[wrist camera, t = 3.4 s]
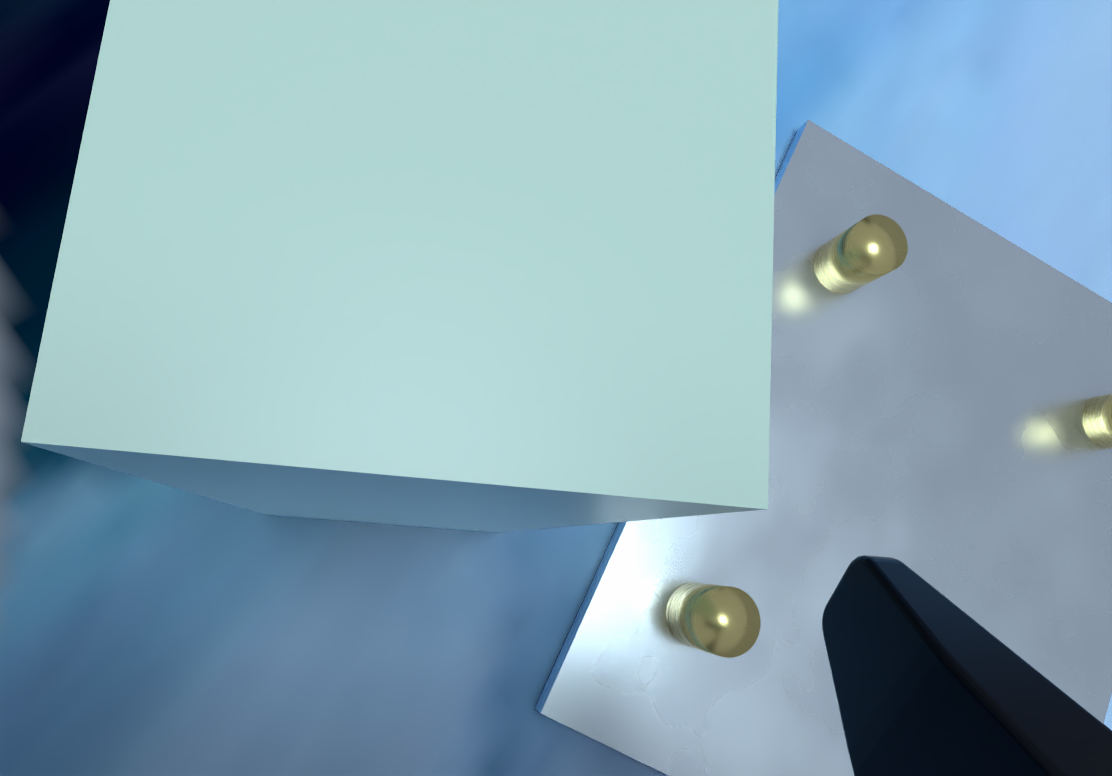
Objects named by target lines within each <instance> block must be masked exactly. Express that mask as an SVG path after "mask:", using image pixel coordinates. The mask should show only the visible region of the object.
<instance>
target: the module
mask: <svg viewBox="0 0 1112 776" xmlns="http://www.w3.org/2000/svg"><path fill="white" fill-rule="evenodd" d="M777 43H778V0H110V4H109V9H108V14H107V19H106V24H105V29H104V34H103V38H102V43H101V48H100V53H99V58H98V63H97V68H96V73H95V78H94V83H93V88H92V93H91V98H90V103H89V108H88V113H87V118H86V123H85V127H84V132H83V137H82V142H81V147H80V152H79V157H78V162H77V167H76V172H75V177H74V182H73V187H72V192H71V197H70V202H69V207H68V212H67V216H66V221H65V226H64V231H63V236H62V241H61V246H60V251H59V256H58V261H57V266H56V271H55V276H54V281H53V286H52V291H51V296H50V300H49V305H48V310H47V315H46V320H45V325H44V330H43V335H42V340H41V345H40V350H39V355H38V360H37V365H36V370H35V375H34V380H33V385H32V389H31V394H30V399H29V404H28V409H27V414H26V419H25V424H24V429H23V434H22V439H21V442H23V443H27V444H30V445H33V446H37V447H40V448H43V449H47V450H50V451H53V452H57V453H60V454H63V455H67V456H70V457H73V458H77V459H80V460H84V461H87V462H90V463H94V464H97V465H100V466H104V467H107V468H110V469H114V470H117V471H120V472H124V473H127V474H130V475H134V476H137V477H140V478H144V479H147V480H150V481H154V482H157V483H160V484H164V485H167V486H170V487H174V488H177V489H180V490H184V491H187V492H190V493H194V494H197V495H200V496H204V497H207V498H210V499H214V500H217V501H220V502H224V503H227V504H230V505H234V506H237V507H240V508H244V509H247V510H250V511H254V512H257V513H260V514H264V515H277V516H290V517H302V518H315V519H328V520H340V521H353V522H366V523H378V524H391V525H404V526H417V527H429V528H442V529H455V530H467V531H480V532H493V533H501V532H513V531H524V530H536V529H547V528H559V527H571V526H582V525H594V524H605V523H617V522H628V521H640V520H651V519H663V518H674V517H686V516H697V515H709V514H721V513H732V512H744V511H755V510H767V509H768V477H769V429H770V381H771V333H772V284H773V236H774V188H775V140H776V91H777Z"/></svg>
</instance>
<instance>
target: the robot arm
mask: <svg viewBox="0 0 1112 776" xmlns="http://www.w3.org/2000/svg"><path fill="white" fill-rule="evenodd" d="M822 631H823V636H824V641H825V646H826V650H827V655H828V660H829V664H830V669H831V674H832V678H833V683H834V688H835V692H836V697H837V701H838V706H839V711H840V715H841V720H842V725H843V729H844V734H845V739H846V743H847V748H848V752H849V756H850V760H851V764H852V768H853V772H854V776H1112V730H1110V729H1109V728H1108V727H1107V726H1105V725H1104V724H1103V723H1102V722H1100V721H1099V720H1098V719H1097V718H1095V717H1094V716H1093V715H1092V714H1090V713H1089V712H1088V711H1087V710H1085V709H1084V708H1083V707H1082V706H1081V705H1079V704H1078V703H1077V702H1076V701H1074V700H1073V699H1072V698H1071V697H1069V696H1068V695H1067V694H1066V693H1064V692H1063V691H1062V690H1061V689H1059V688H1058V687H1057V686H1056V685H1054V684H1053V683H1052V682H1051V681H1049V680H1048V679H1047V678H1046V677H1044V676H1043V675H1042V674H1041V673H1039V672H1038V671H1037V670H1036V669H1035V668H1033V667H1032V666H1031V665H1030V664H1028V663H1027V662H1026V661H1025V660H1023V659H1022V658H1021V657H1020V656H1018V655H1017V654H1016V653H1015V652H1013V651H1012V650H1011V649H1010V648H1008V647H1007V646H1006V645H1005V644H1003V643H1002V642H1001V641H1000V640H998V639H997V638H996V637H995V636H994V635H992V634H991V633H990V632H989V631H987V630H986V629H985V628H984V627H982V626H981V625H980V624H979V623H977V622H976V621H975V620H974V619H972V618H971V617H970V616H969V615H967V614H966V613H965V612H964V611H962V610H961V609H960V608H959V607H957V606H956V605H955V604H954V603H952V602H951V601H950V600H949V599H948V598H946V597H945V596H944V595H943V594H941V593H940V592H939V591H938V590H936V589H935V588H934V587H933V586H931V585H930V584H929V583H928V582H926V581H925V580H924V579H923V578H921V577H920V576H919V575H918V574H916V573H915V572H914V571H913V570H911V569H910V568H909V567H908V566H907V565H905V564H904V563H903V562H901V561H900V560H897V559H895V558H891V557H880V556H868V555H862V556H858V557H857V558H855V559H854V560H852V561H851V563H850V564H849V566H848V567H847V569H846V571H845V573H844V574H843V576H842V578H841V580H840V581H839V583H838V585H837V587H836V588H835V590H834V592H833V594H832V595H831V597H830V599H829V601H828V602H827V604H826V606H825V608H824V612H823V617H822Z"/></svg>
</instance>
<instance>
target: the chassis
mask: <svg viewBox="0 0 1112 776" xmlns="http://www.w3.org/2000/svg"><path fill="white" fill-rule="evenodd" d="M862 555H868V556H880V557H891V558H895V559H897V560H900V561H901V562H903V563H904V564H905V565H907V566H908V567H909V568H910V569H911V570H913V571H914V572H915V573H916V574H918V575H919V576H920V577H921V578H923V579H924V580H925V581H926V582H928V583H929V584H930V585H931V586H933V587H934V588H935V589H936V590H938V591H939V592H940V593H941V594H943V595H944V596H945V597H946V598H948V599H949V600H950V601H951V602H952V603H954V604H955V605H956V606H957V607H959V608H960V609H961V610H962V611H964V612H965V613H966V614H967V615H969V616H970V617H971V618H972V619H974V620H975V621H976V622H977V623H979V624H980V625H981V626H982V627H984V628H985V629H986V630H987V631H989V632H990V633H991V634H992V635H994V636H995V637H996V638H997V639H998V640H1000V641H1001V642H1002V643H1003V644H1005V645H1006V646H1007V647H1008V648H1010V649H1011V650H1012V651H1013V652H1015V653H1016V654H1017V655H1018V656H1020V657H1021V658H1022V659H1023V660H1025V661H1026V662H1027V663H1028V664H1030V665H1031V666H1032V667H1033V668H1035V669H1036V670H1037V671H1038V672H1039V673H1041V674H1042V675H1043V676H1044V677H1046V678H1047V679H1048V680H1049V681H1051V682H1052V683H1053V684H1054V685H1056V686H1057V687H1058V688H1059V689H1061V690H1062V691H1063V692H1064V693H1066V694H1067V695H1068V696H1069V697H1071V698H1072V699H1073V700H1074V701H1076V702H1077V703H1078V704H1079V705H1081V706H1082V707H1083V708H1084V709H1085V710H1087V711H1088V712H1089V713H1090V714H1092V715H1093V716H1094V717H1095V718H1097V719H1098V720H1099V721H1100V722H1102V723H1104V719H1105V715H1106V712H1107V708H1108V704H1109V701H1110V697H1111V693H1112V303H1111V302H1109V301H1108V300H1106V299H1104V298H1103V297H1101V296H1099V295H1098V294H1096V293H1094V292H1093V291H1091V290H1089V289H1088V288H1086V287H1084V286H1083V285H1081V284H1079V283H1078V282H1076V281H1074V280H1073V279H1071V278H1069V277H1068V276H1066V275H1064V274H1063V273H1061V272H1059V271H1058V270H1056V269H1055V268H1053V267H1051V266H1050V265H1048V264H1046V263H1045V262H1043V261H1041V260H1040V259H1038V258H1036V257H1035V256H1033V255H1031V254H1030V253H1028V252H1026V251H1025V250H1023V249H1021V248H1020V247H1018V246H1016V245H1015V244H1013V243H1011V242H1010V241H1008V240H1006V239H1005V238H1003V237H1001V236H1000V235H998V234H997V233H995V232H993V231H992V230H990V229H988V228H987V227H985V226H983V225H982V224H980V223H978V222H977V221H975V220H973V219H972V218H970V217H968V216H967V215H965V214H963V213H962V212H960V211H958V210H957V209H955V208H953V207H952V206H950V205H948V204H947V203H945V202H943V201H942V200H940V199H939V198H937V197H935V196H934V195H932V194H930V193H929V192H927V191H925V190H924V189H922V188H920V187H919V186H917V185H915V184H914V183H912V182H910V181H909V180H907V179H905V178H904V177H902V176H900V175H899V174H897V173H895V172H894V171H892V170H890V169H889V168H887V167H885V166H884V165H882V164H881V163H879V162H877V161H876V160H874V159H872V158H871V157H869V156H867V155H866V154H864V153H862V152H861V151H859V150H857V149H856V148H854V147H852V146H851V145H849V144H847V143H846V142H844V141H842V140H841V139H839V138H837V137H836V136H834V135H832V134H831V133H829V132H827V131H826V130H824V129H823V128H821V127H819V126H818V125H816V124H814V123H813V122H811V121H809V120H808V121H807V122H806V123H804V124H803V125H802V126H801V127H800V128H799V129H798V130H797V131H796V134H795V136H794V138H793V140H792V142H791V145H790V147H789V149H788V151H787V153H786V156H785V158H784V160H783V162H782V164H781V167H780V169H779V171H778V173H777V176H776V178H775V188H774V236H773V284H772V333H771V381H770V429H769V477H768V509H767V510H755V511H744V512H732V513H721V514H709V515H697V516H686V517H674V518H663V519H651V520H640V521H628V522H619V524H618V526H617V528H616V530H615V533H614V535H613V537H612V539H611V541H610V544H609V546H608V548H607V550H606V552H605V555H604V557H603V559H602V561H601V563H600V566H599V568H598V570H597V572H596V574H595V577H594V579H593V581H592V583H591V585H590V588H589V590H588V592H587V594H586V596H585V599H584V601H583V603H582V605H581V607H580V610H579V612H578V614H577V616H576V618H575V621H574V623H573V625H572V627H571V629H570V632H569V634H568V636H567V638H566V640H565V643H564V645H563V647H562V649H561V652H560V654H559V656H558V658H557V660H556V663H555V665H554V667H553V669H552V671H551V674H550V676H549V678H548V680H547V682H546V685H545V687H544V689H543V691H542V693H541V696H540V698H539V700H538V702H537V704H536V707H535V709H537V710H538V711H539V712H540V713H541V714H543V715H545V716H547V717H549V718H551V719H553V720H555V721H557V722H559V723H561V724H563V725H566V726H568V727H570V728H572V729H574V730H576V731H578V732H580V733H582V734H584V735H586V736H588V737H590V738H592V739H594V740H596V741H598V742H600V743H603V744H605V745H607V746H609V747H611V748H613V749H615V750H617V751H619V752H621V753H623V754H625V755H627V756H629V757H631V758H633V759H635V760H637V761H640V762H642V763H644V764H646V765H648V766H650V767H652V768H654V769H656V770H658V771H660V772H662V773H664V774H666V775H668V776H854V772H853V768H852V764H851V760H850V756H849V752H848V748H847V743H846V739H845V734H844V729H843V725H842V720H841V715H840V711H839V706H838V701H837V697H836V692H835V688H834V683H833V678H832V674H831V669H830V664H829V660H828V655H827V650H826V646H825V641H824V636H823V631H822V617H823V612H824V608H825V606H826V604H827V602H828V601H829V599H830V597H831V595H832V594H833V592H834V590H835V588H836V587H837V585H838V583H839V581H840V580H841V578H842V576H843V574H844V573H845V571H846V569H847V567H848V566H849V564H850V563H851V561H852V560H854V559H855V558H857V557H858V556H862Z"/></svg>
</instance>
